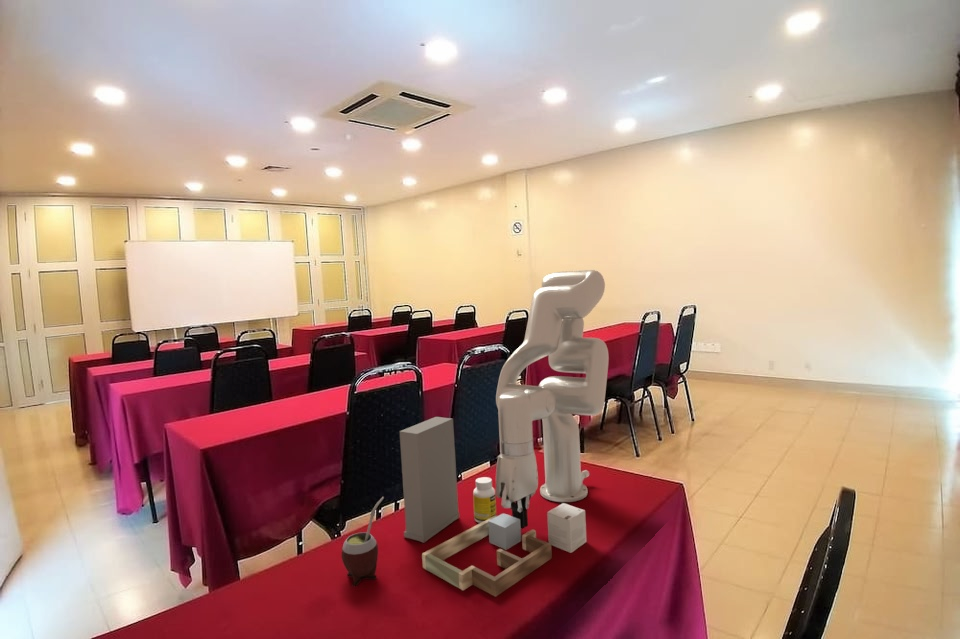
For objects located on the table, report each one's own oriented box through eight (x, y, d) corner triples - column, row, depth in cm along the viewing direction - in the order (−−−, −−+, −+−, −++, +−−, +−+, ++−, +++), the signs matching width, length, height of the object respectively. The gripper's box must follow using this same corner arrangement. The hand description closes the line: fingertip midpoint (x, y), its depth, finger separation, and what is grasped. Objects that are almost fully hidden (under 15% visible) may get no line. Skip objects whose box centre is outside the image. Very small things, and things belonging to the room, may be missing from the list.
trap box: (496, 527, 119) (495, 515, 119) (559, 553, 107) (558, 539, 106) (422, 567, 104) (422, 553, 104) (486, 603, 91) (485, 587, 91)
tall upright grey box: (439, 513, 129) (433, 416, 127) (459, 518, 125) (453, 418, 124) (403, 537, 117) (396, 431, 115) (424, 543, 114) (417, 434, 112)
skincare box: (564, 533, 115) (562, 502, 114) (587, 542, 110) (586, 509, 110) (547, 544, 110) (546, 511, 110) (571, 553, 106) (569, 519, 106)
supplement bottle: (494, 524, 121) (492, 484, 120) (472, 524, 122) (470, 484, 121) (498, 514, 126) (496, 476, 125) (476, 513, 127) (474, 475, 126)
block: (504, 534, 116) (503, 513, 116) (521, 541, 113) (520, 519, 112) (489, 542, 113) (488, 521, 112) (506, 550, 109) (505, 527, 109)
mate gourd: (336, 585, 99) (331, 510, 98) (357, 563, 107) (351, 494, 106) (371, 589, 97) (366, 513, 96) (389, 567, 105) (384, 496, 104)
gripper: (524, 436, 123) (528, 510, 124) (481, 452, 112) (485, 533, 113) (550, 441, 118) (553, 518, 119) (507, 459, 107) (511, 543, 108)
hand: (520, 525), depth 116 cm, fingers closed
